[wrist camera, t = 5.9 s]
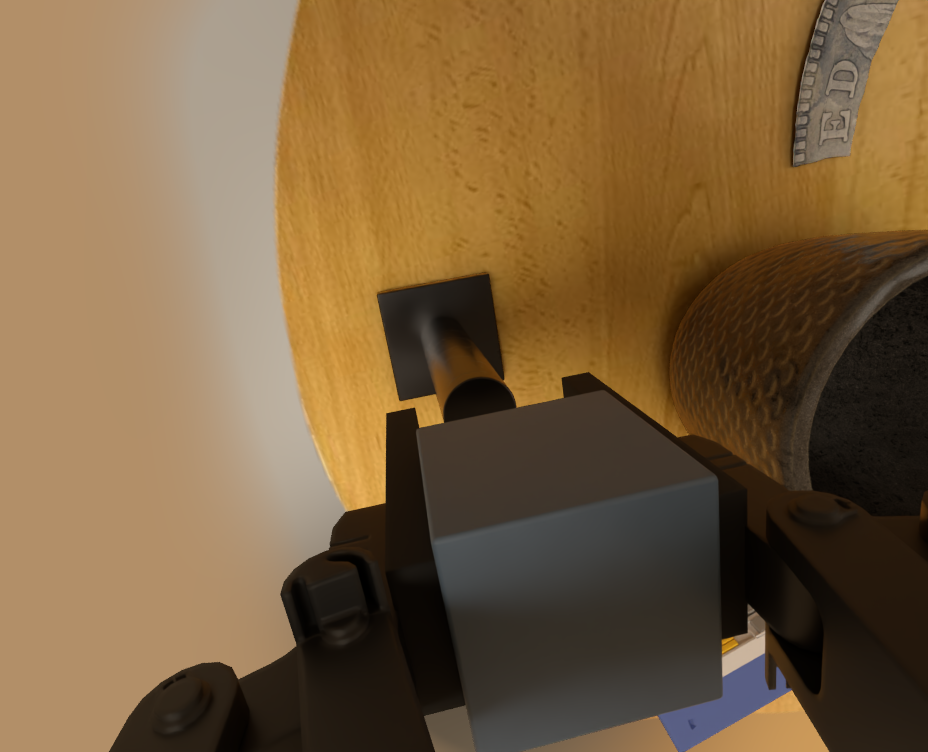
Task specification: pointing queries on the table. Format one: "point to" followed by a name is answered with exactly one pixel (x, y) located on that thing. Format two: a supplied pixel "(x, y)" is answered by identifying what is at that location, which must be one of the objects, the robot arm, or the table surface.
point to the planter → (816, 366)
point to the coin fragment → (837, 76)
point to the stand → (447, 345)
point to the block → (573, 569)
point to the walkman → (729, 690)
